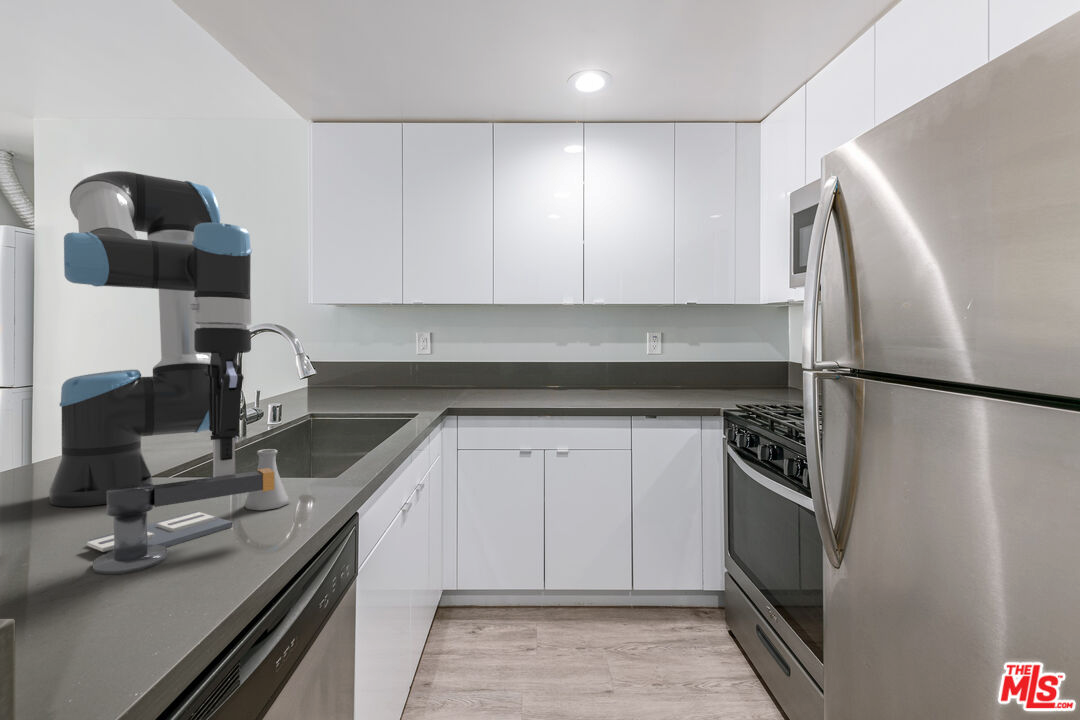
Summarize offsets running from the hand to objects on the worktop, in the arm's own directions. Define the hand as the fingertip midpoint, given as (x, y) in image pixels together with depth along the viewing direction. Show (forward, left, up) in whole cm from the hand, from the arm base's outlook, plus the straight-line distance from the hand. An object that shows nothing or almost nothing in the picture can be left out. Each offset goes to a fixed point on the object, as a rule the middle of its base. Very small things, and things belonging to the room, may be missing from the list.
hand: (224, 479), depth 84 cm
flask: (-7, +12, -9) cm, 17 cm away
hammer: (+2, -6, -1) cm, 6 cm away
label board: (-7, -5, -8) cm, 12 cm away
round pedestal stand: (0, -13, -8) cm, 15 cm away
